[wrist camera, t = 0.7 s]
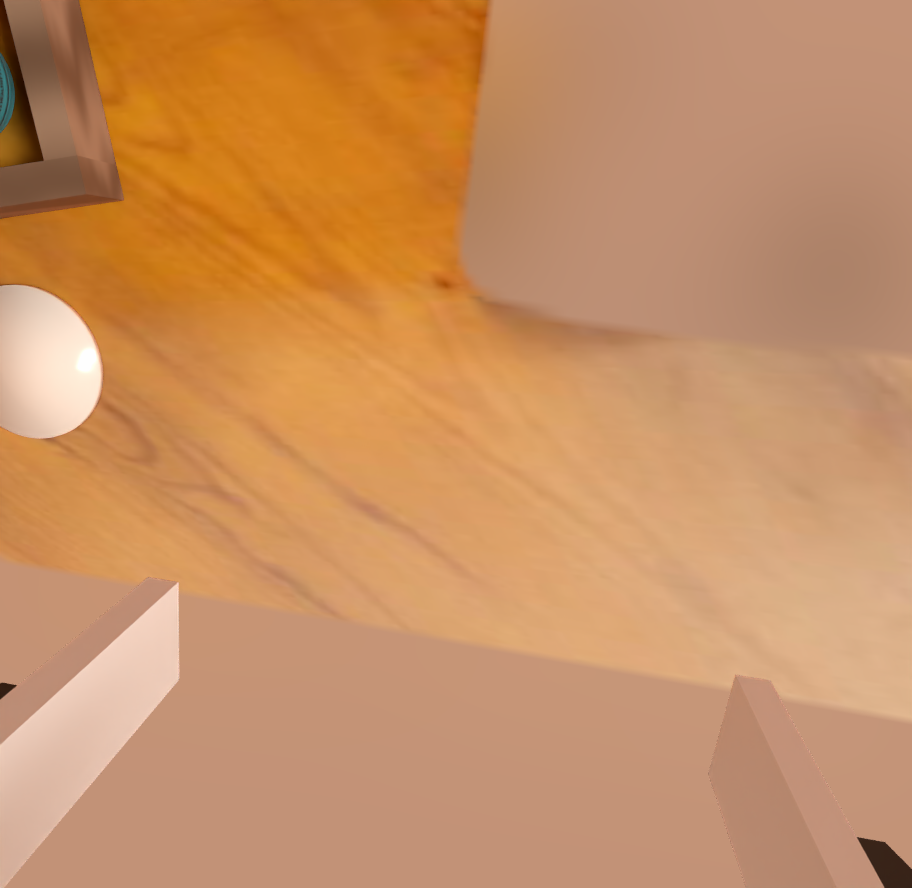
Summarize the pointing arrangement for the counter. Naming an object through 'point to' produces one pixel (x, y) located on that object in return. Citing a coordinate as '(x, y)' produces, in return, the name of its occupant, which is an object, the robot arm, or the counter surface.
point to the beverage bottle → (6, 93)
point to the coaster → (45, 364)
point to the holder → (59, 114)
